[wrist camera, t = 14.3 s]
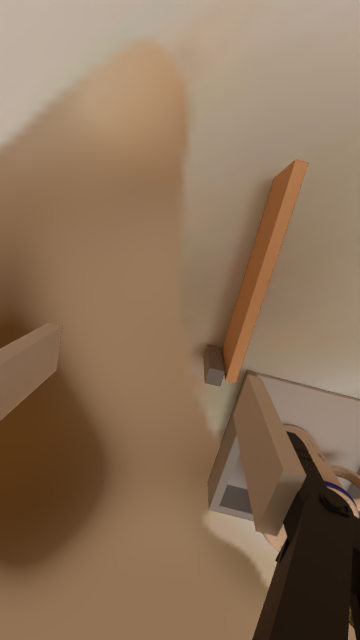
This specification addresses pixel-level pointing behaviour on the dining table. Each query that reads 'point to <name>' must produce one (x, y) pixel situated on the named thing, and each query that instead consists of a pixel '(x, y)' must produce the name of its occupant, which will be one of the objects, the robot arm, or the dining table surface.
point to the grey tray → (293, 409)
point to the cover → (261, 265)
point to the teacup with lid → (329, 477)
